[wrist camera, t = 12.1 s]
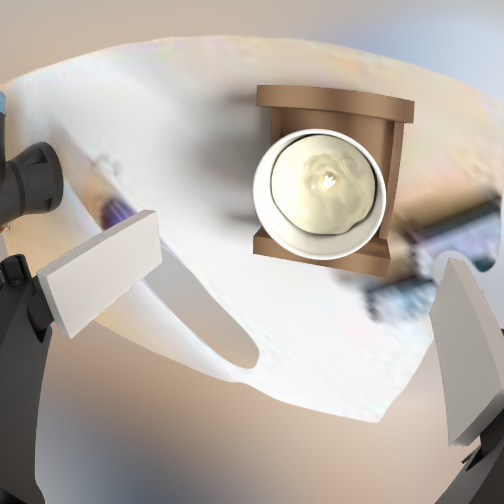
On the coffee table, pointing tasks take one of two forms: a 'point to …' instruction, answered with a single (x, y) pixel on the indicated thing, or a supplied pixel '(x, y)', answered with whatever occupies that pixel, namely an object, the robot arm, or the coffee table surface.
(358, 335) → the coffee table surface
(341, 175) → the candle holder
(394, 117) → the wooden tray
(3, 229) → the bull figurine
